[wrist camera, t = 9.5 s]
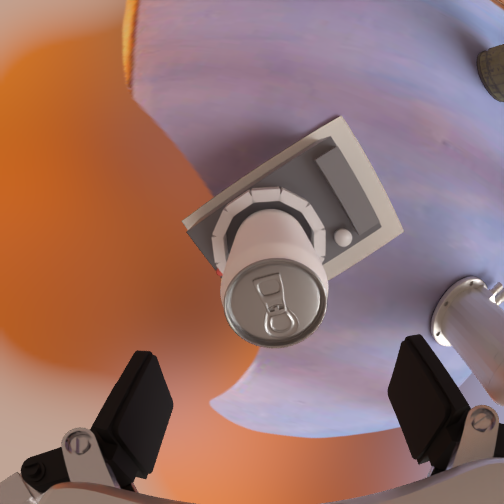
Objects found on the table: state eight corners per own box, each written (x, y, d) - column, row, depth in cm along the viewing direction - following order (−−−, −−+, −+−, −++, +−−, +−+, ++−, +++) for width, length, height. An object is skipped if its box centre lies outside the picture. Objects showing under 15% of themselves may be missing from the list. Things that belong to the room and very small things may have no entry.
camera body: (317, 139, 28) (336, 134, 21) (362, 214, 31) (390, 232, 23) (199, 218, 32) (180, 237, 24) (249, 284, 34) (245, 320, 27)
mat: (340, 115, 28) (341, 115, 27) (402, 230, 32) (404, 231, 31) (182, 220, 32) (181, 221, 32) (258, 319, 36) (258, 321, 36)
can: (248, 281, 27) (238, 363, 16) (226, 219, 26) (197, 270, 14) (312, 263, 27) (343, 337, 15) (294, 198, 25) (321, 234, 13)
